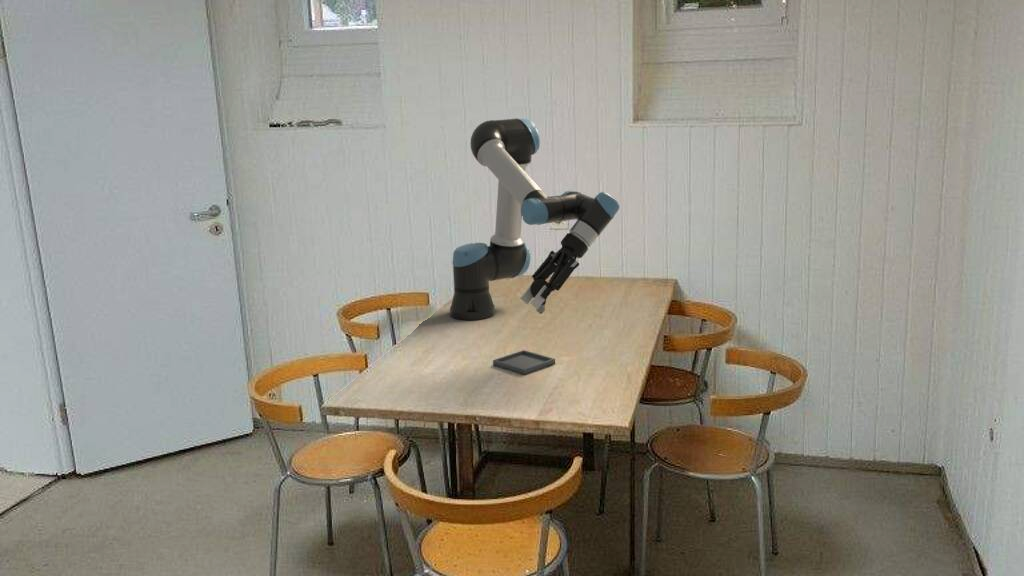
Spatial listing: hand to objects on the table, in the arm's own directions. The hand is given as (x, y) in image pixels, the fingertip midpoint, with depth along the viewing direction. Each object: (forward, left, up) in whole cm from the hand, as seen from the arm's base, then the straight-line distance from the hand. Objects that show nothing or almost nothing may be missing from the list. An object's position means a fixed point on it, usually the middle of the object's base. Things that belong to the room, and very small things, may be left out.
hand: (528, 303), depth 256 cm
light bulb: (+1, +4, -4) cm, 5 cm away
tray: (+4, -6, -16) cm, 17 cm away
